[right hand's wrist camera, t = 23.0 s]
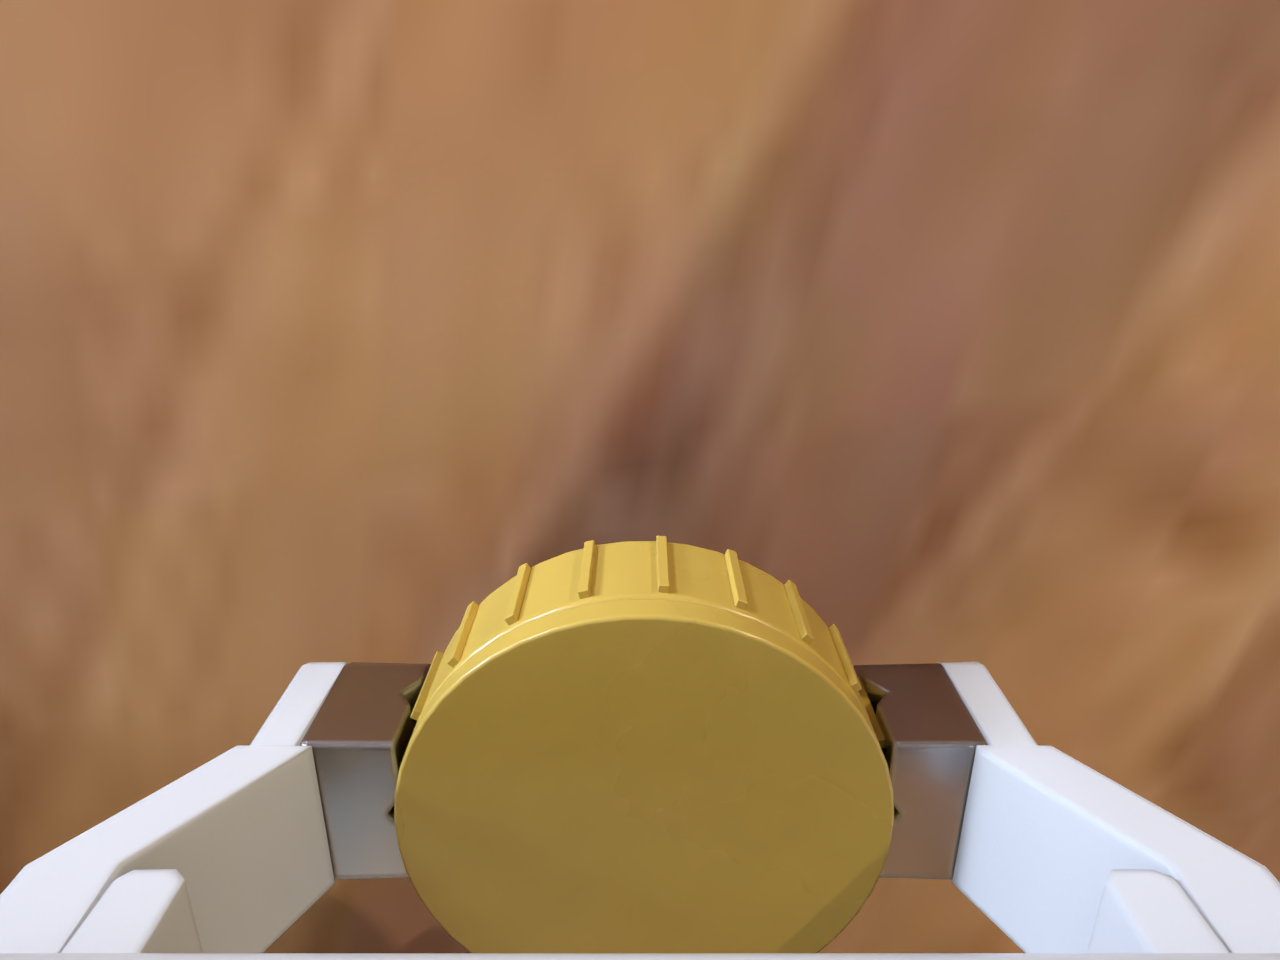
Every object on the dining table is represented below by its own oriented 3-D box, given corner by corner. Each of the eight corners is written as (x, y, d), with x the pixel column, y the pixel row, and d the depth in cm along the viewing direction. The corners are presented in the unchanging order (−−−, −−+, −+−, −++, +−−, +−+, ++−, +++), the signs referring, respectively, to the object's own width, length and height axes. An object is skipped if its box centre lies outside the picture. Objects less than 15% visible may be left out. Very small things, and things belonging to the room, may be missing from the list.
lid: (364, 810, 11) (316, 923, 9) (526, 455, 9) (501, 521, 8) (732, 943, 12) (747, 1067, 10) (948, 641, 10) (1004, 734, 8)
